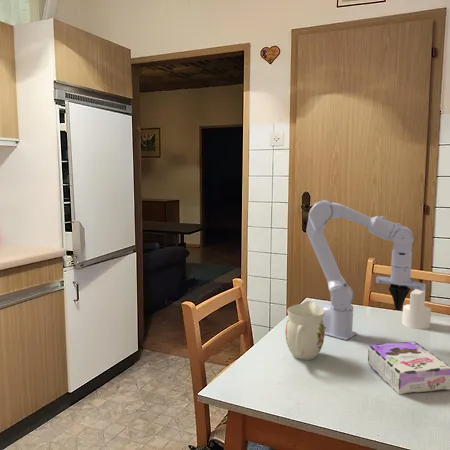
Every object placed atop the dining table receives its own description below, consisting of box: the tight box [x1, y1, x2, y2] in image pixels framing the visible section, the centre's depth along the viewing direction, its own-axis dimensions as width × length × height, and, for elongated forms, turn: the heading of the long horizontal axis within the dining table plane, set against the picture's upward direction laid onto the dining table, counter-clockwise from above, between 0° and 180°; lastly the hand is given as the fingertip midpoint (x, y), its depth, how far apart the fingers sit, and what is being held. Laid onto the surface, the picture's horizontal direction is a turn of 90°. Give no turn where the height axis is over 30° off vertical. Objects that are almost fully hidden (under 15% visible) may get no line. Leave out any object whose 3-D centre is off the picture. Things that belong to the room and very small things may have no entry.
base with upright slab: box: [401, 289, 432, 330], centre depth 158 cm, size 9×9×12 cm
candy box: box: [367, 340, 450, 395], centre depth 116 cm, size 14×6×16 cm
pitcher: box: [285, 300, 325, 361], centre depth 129 cm, size 11×18×14 cm, turn 160°
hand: (398, 309), depth 141 cm, fingers closed
